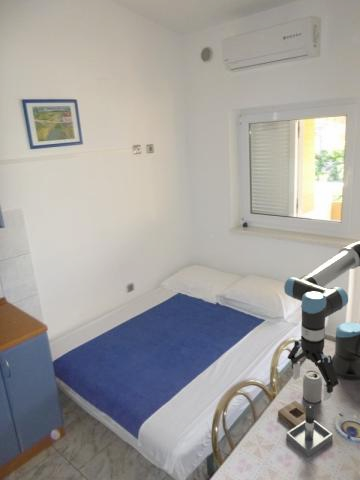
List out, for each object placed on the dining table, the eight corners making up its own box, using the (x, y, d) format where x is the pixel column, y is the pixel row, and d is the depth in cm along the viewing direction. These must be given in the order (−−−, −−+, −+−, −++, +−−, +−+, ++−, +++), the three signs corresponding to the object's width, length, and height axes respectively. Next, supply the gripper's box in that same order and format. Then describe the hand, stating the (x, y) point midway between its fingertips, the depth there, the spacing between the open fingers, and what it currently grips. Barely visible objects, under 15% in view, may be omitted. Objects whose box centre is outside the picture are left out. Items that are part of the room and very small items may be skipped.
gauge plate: (295, 405, 157) (295, 400, 156) (314, 419, 148) (314, 414, 148) (278, 415, 152) (278, 410, 151) (297, 431, 144) (297, 426, 143)
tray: (310, 422, 147) (310, 417, 146) (332, 439, 139) (332, 434, 138) (286, 438, 141) (286, 432, 140) (307, 456, 132) (308, 451, 132)
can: (322, 404, 156) (323, 380, 152) (303, 403, 157) (304, 379, 154) (319, 392, 163) (320, 369, 159) (301, 391, 164) (302, 368, 161)
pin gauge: (308, 433, 142) (309, 403, 137) (315, 438, 139) (316, 408, 135) (303, 436, 140) (304, 406, 136) (309, 442, 138) (310, 411, 133)
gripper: (277, 324, 136) (278, 374, 142) (337, 357, 115) (334, 413, 121) (292, 318, 139) (292, 366, 145) (352, 348, 118) (348, 403, 125)
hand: (311, 388), depth 133 cm, fingers open, 13 cm apart
